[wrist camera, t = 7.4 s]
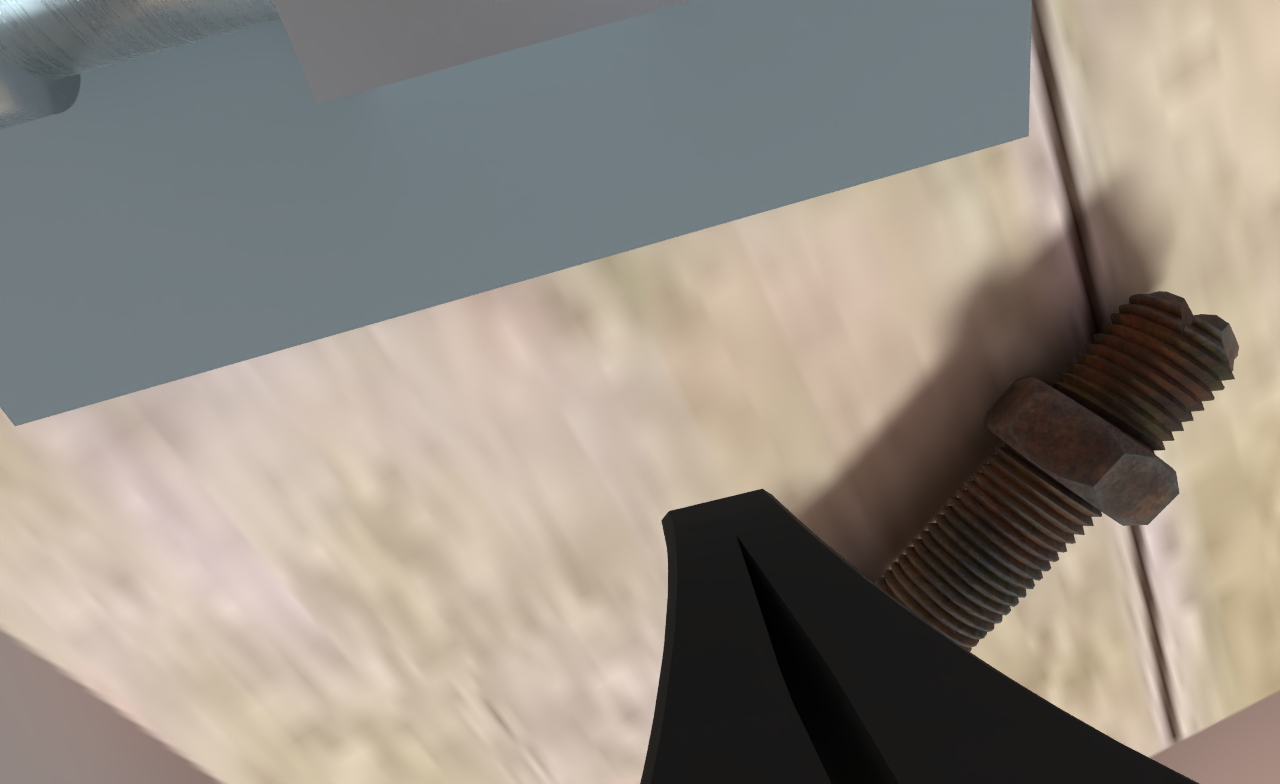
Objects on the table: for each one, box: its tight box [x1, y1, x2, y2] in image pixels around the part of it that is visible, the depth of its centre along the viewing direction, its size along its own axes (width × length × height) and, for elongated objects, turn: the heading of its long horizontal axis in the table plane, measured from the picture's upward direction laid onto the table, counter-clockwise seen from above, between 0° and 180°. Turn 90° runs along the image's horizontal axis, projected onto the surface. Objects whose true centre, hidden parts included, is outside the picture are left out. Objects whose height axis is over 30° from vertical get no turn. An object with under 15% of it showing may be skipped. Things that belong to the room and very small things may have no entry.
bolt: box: [877, 291, 1239, 652], centre depth 21 cm, size 6×5×15 cm
